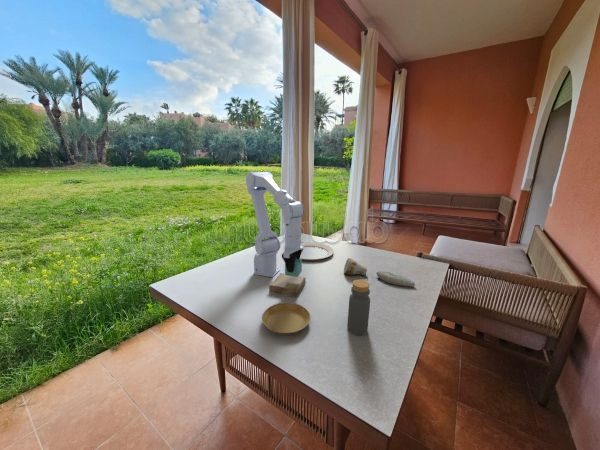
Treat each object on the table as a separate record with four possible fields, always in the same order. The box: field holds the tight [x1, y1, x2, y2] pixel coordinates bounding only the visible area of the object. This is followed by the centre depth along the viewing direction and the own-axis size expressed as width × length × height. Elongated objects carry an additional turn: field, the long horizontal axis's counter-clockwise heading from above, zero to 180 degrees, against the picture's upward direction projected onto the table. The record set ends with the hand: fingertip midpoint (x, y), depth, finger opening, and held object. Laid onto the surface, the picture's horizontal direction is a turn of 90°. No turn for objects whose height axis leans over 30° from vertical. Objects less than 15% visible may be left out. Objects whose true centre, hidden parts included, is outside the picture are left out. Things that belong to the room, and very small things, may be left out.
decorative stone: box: [375, 270, 416, 288], centre depth 101 cm, size 6×16×3 cm, turn 56°
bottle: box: [346, 279, 371, 336], centre depth 70 cm, size 6×6×15 cm
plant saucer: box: [261, 302, 311, 336], centre depth 75 cm, size 15×15×3 cm
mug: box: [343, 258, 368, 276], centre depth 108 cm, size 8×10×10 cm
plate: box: [300, 242, 334, 261], centre depth 132 cm, size 26×26×2 cm
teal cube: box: [284, 259, 303, 277], centre depth 93 cm, size 5×5×5 cm
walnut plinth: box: [268, 273, 307, 298], centre depth 95 cm, size 11×11×3 cm
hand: (292, 268), depth 93 cm, fingers closed on teal cube, 5 cm apart
